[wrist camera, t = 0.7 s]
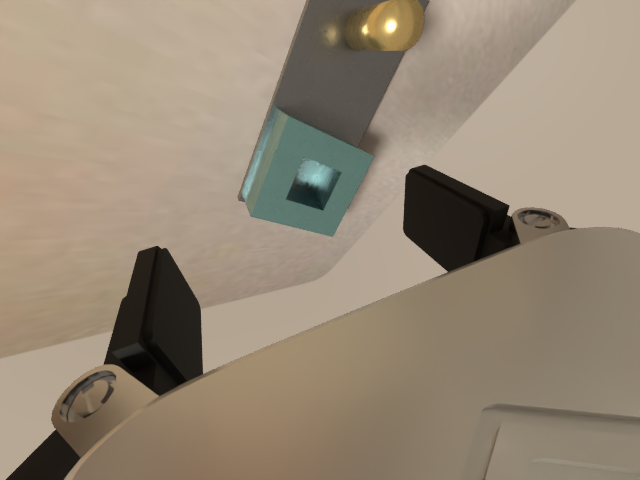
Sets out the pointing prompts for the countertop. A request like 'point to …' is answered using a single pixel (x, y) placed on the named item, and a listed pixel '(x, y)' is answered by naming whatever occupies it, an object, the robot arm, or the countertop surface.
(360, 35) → the gold rounded cylinder
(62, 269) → the countertop surface
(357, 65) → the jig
